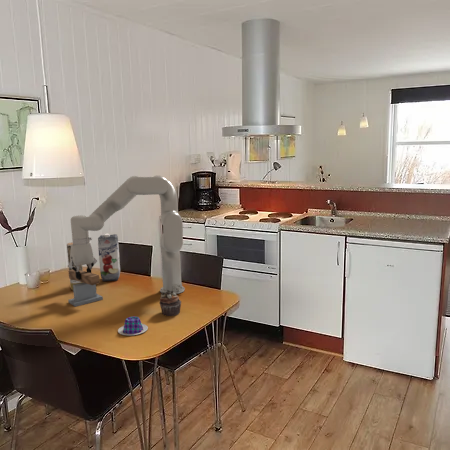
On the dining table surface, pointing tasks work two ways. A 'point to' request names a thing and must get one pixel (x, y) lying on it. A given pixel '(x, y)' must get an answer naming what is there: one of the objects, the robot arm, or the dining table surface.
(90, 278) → the rod
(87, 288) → the ridge
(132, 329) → the pudding
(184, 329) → the dining table surface
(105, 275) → the juice carton
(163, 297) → the cupcake
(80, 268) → the paper tube
